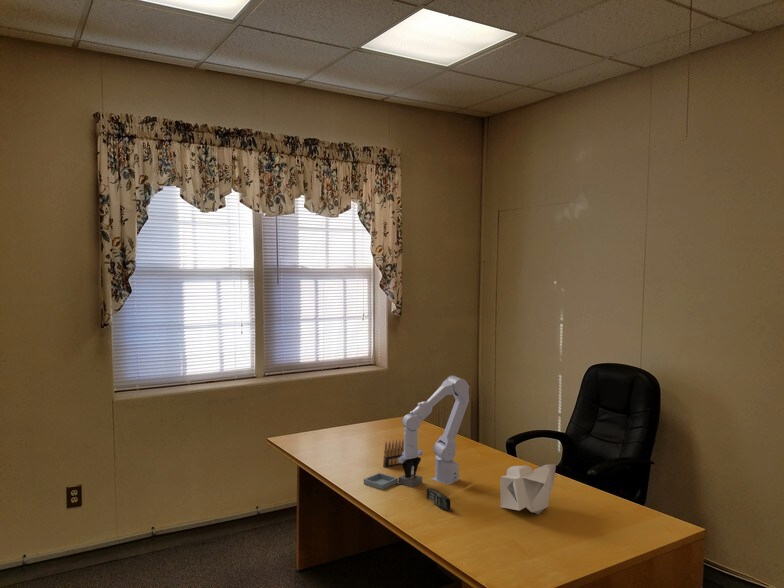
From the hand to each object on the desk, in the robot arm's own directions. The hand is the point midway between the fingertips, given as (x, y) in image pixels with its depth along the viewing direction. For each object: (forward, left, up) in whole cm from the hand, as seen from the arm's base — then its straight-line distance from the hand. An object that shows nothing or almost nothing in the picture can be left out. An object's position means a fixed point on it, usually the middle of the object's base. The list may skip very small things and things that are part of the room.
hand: (410, 475), depth 242 cm
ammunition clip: (+19, -13, -4) cm, 23 cm away
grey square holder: (0, 0, -3) cm, 3 cm away
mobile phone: (-22, +10, -4) cm, 25 cm away
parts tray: (+9, +9, -3) cm, 13 cm away
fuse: (0, 0, -3) cm, 3 cm away
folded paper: (-51, -10, -4) cm, 52 cm away
